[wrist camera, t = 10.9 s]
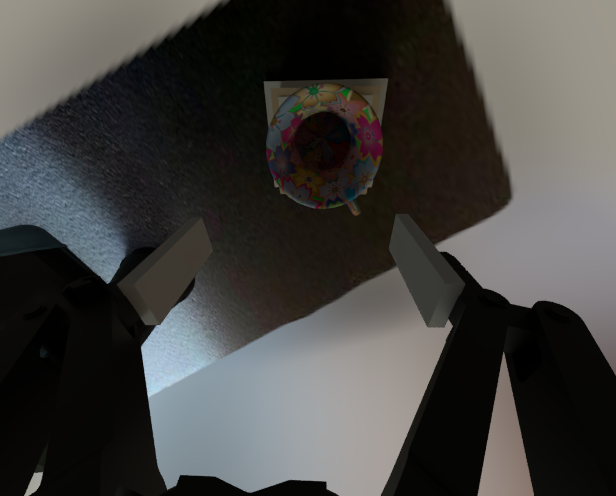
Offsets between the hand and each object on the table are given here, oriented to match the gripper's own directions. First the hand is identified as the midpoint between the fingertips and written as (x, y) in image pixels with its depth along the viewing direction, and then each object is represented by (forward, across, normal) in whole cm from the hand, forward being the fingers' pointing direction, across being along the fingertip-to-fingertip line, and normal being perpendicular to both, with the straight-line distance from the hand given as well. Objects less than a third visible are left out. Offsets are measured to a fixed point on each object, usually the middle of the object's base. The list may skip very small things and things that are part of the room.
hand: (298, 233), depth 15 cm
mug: (+16, +3, +3) cm, 17 cm away
